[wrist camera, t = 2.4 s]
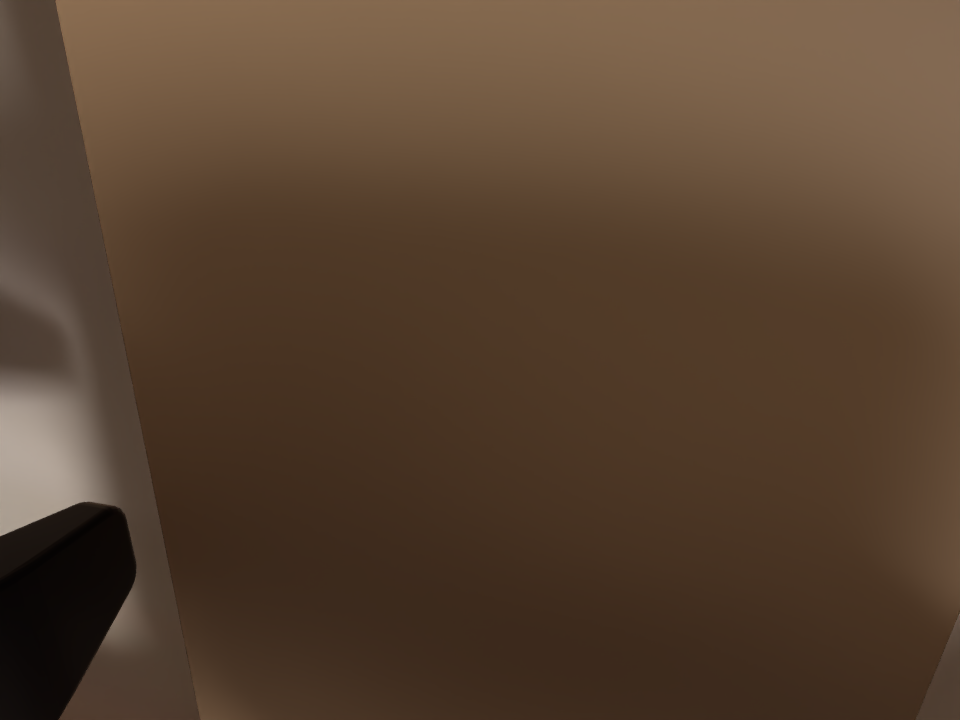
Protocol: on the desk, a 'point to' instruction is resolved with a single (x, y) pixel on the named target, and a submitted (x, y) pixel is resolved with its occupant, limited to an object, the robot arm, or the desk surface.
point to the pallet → (541, 348)
